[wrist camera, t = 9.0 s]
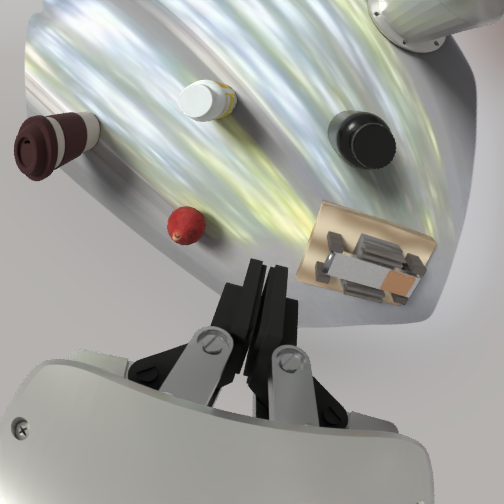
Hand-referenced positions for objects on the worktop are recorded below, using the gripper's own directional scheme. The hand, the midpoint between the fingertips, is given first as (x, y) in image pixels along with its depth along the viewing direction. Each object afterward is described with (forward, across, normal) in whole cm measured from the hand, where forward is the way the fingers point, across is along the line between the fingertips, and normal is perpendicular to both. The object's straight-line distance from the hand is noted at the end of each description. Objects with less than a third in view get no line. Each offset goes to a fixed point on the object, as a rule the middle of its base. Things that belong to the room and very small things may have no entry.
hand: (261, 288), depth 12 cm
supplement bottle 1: (+29, +11, -6) cm, 32 cm away
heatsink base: (+29, -17, +12) cm, 36 cm away
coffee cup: (+29, +35, +1) cm, 46 cm away
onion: (+29, +12, +13) cm, 34 cm away
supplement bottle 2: (+29, -8, -6) cm, 31 cm away
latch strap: (+24, -17, +12) cm, 32 cm away
